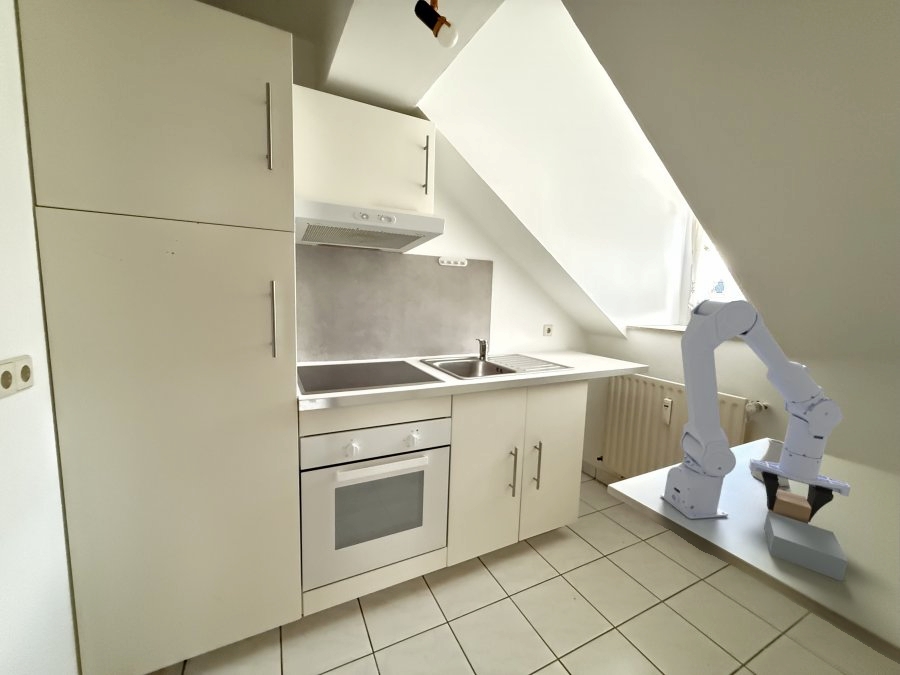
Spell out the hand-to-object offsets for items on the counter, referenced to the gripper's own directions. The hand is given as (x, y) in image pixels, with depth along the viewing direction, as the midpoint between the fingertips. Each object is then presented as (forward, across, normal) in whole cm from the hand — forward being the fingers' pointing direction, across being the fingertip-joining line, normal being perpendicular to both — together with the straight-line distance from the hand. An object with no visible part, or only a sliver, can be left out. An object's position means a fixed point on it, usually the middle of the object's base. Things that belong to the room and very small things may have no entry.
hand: (787, 513), depth 74 cm
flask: (+2, 0, -20) cm, 20 cm away
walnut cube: (+1, 0, 0) cm, 1 cm away
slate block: (+2, 0, +11) cm, 11 cm away
